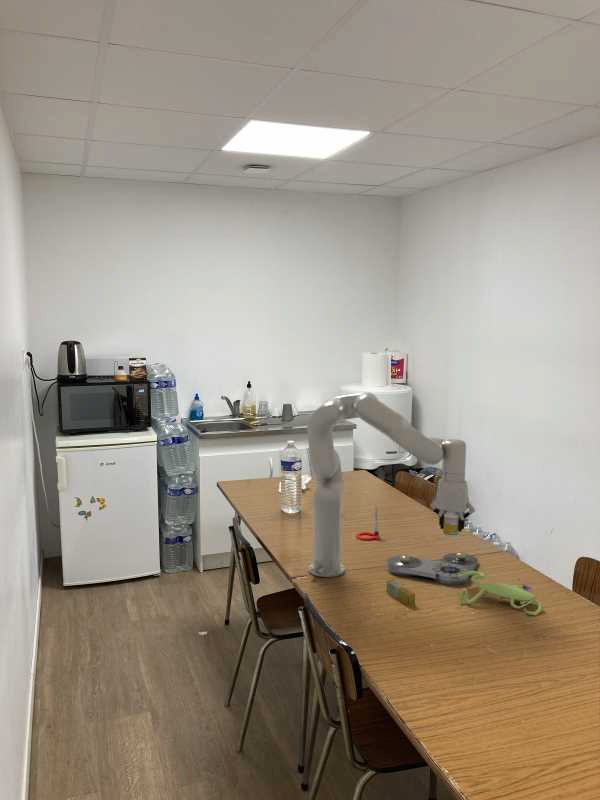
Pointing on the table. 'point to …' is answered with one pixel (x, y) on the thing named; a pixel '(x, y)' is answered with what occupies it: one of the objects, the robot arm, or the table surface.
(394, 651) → the table surface
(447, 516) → the supplement bottle
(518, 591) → the figurine
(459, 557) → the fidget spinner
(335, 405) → the robot arm
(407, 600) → the medication box
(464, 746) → the table surface
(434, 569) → the upper chain link
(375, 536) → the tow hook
